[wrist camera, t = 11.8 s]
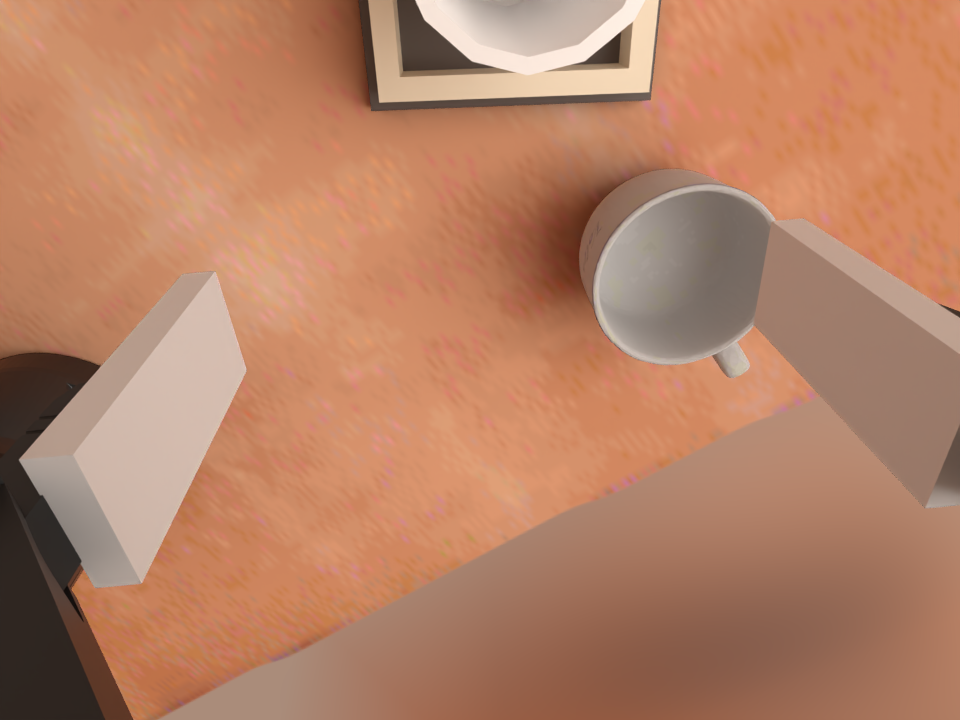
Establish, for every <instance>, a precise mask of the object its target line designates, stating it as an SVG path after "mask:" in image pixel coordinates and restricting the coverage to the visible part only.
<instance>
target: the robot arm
mask: <svg viewBox="0 0 960 720" xmlns="http://www.w3.org/2000/svg"><path fill="white" fill-rule="evenodd" d="M753 324H754V325H755V326H756V328H757V329H758V330H759V331H760V332H761V333H762V334H763V335H764V336H765V337H766V338H767V339H768V340H769V342H770V343H771V344H772V345H773V346H774V347H775V348H776V349H777V350H778V351H779V352H780V353H781V354H782V355H783V357H784V358H785V359H786V360H787V361H788V362H789V363H790V364H791V365H792V366H793V367H794V368H795V369H796V370H797V372H798V373H799V374H800V375H801V376H802V377H803V378H804V379H805V380H806V381H807V382H808V383H809V384H810V386H811V387H812V388H813V389H814V390H815V391H816V392H817V393H818V394H819V395H820V396H821V397H822V398H823V399H824V401H825V402H826V403H827V404H828V405H829V406H830V407H831V408H832V409H833V410H834V411H835V412H836V413H837V414H838V415H839V416H840V418H841V419H842V420H843V421H844V422H845V423H846V424H847V425H848V426H849V427H850V428H851V429H852V430H853V432H854V433H855V434H856V435H857V436H858V437H859V438H860V439H861V440H862V441H863V442H864V443H865V445H866V446H867V447H868V448H869V449H870V450H871V451H872V452H873V453H874V454H875V455H876V456H877V457H878V458H879V460H880V461H881V462H882V463H883V464H884V465H885V466H886V467H887V468H888V469H889V470H890V471H891V472H892V474H893V475H894V476H895V477H896V478H897V479H898V480H899V481H900V482H901V483H902V484H903V485H904V486H905V487H906V489H908V491H909V492H910V493H911V494H912V495H913V496H914V497H915V498H916V499H917V500H918V501H919V502H920V503H921V504H922V506H923V507H924V508H935V507H945V506H955V505H960V312H959V311H957V310H954V309H951V308H948V307H946V306H943V305H940V304H938V303H936V302H934V301H933V300H931V299H929V298H928V297H926V296H925V295H923V294H922V293H920V292H918V291H917V290H915V289H914V288H912V287H911V286H909V285H907V284H906V283H904V282H903V281H901V280H900V279H898V278H896V277H895V276H893V275H892V274H890V273H889V272H887V271H885V270H884V269H882V268H881V267H879V266H878V265H876V264H874V263H873V262H871V261H870V260H868V259H867V258H865V257H863V256H862V255H860V254H859V253H857V252H856V251H854V250H853V249H851V248H849V247H848V246H846V245H845V244H843V243H842V242H840V241H838V240H837V239H835V238H834V237H832V236H831V235H829V234H827V233H826V232H824V231H823V230H821V229H820V228H818V227H816V226H815V225H813V224H812V223H810V222H809V221H807V220H805V219H804V218H803V219H791V220H780V221H772V222H771V228H770V233H769V239H768V244H767V250H766V256H765V261H764V267H763V273H762V278H761V284H760V289H759V295H758V301H757V306H756V312H755V317H754V323H753ZM246 371H247V370H246V366H245V363H244V360H243V357H242V354H241V351H240V347H239V344H238V341H237V338H236V335H235V332H234V328H233V325H232V322H231V319H230V316H229V313H228V309H227V306H226V303H225V300H224V297H223V294H222V290H221V287H220V284H219V281H218V278H217V275H216V271H210V272H199V273H187V274H182V275H181V276H180V277H179V278H178V280H177V281H176V282H175V283H174V284H173V285H172V286H171V288H170V289H169V290H168V291H167V292H166V293H165V294H164V295H163V297H162V298H161V299H160V300H159V301H158V302H157V303H156V305H155V306H154V307H153V308H152V309H151V310H150V311H149V313H148V314H147V315H146V316H145V317H144V318H143V319H142V320H141V322H140V323H139V324H138V325H137V326H136V327H135V328H134V330H133V331H132V332H131V333H130V334H129V335H128V336H127V337H126V339H125V340H124V341H123V342H122V343H121V344H120V345H119V347H118V348H117V349H116V350H115V351H114V352H113V353H112V355H111V356H110V357H109V358H108V359H107V360H106V361H105V362H104V364H103V365H102V366H101V367H100V366H98V365H95V364H93V363H90V362H87V361H84V360H80V359H77V358H73V357H68V356H63V355H56V354H45V353H32V354H22V355H16V356H11V357H8V358H5V359H2V360H0V720H133V718H132V716H131V714H130V712H129V710H128V707H127V705H126V703H125V701H124V699H123V697H122V694H121V692H120V690H119V688H118V686H117V684H116V682H115V679H114V677H113V675H112V673H111V671H110V669H109V667H108V664H107V662H106V660H105V658H104V656H103V654H102V652H101V649H100V647H99V645H98V643H97V641H96V639H95V637H94V634H93V632H92V630H91V628H90V626H89V624H88V622H87V619H86V617H85V615H84V613H83V611H82V609H81V607H80V604H79V602H78V600H77V598H76V596H75V595H74V593H73V592H72V590H71V589H72V587H73V586H74V584H75V582H76V581H77V579H78V578H79V576H80V574H81V573H82V571H83V570H85V572H86V574H87V575H88V577H89V579H90V580H91V582H92V584H93V586H94V587H95V588H102V587H112V586H123V585H133V584H142V582H143V580H144V578H145V576H146V574H147V572H148V570H149V568H150V566H151V564H152V562H153V560H154V558H155V556H156V553H157V551H158V549H159V547H160V545H161V543H162V541H163V539H164V537H165V535H166V533H167V531H168V529H169V527H170V525H171V523H172V521H173V519H174V517H175V515H176V513H177V511H178V509H179V507H180V505H181V503H182V501H183V499H184V497H185V495H186V493H187V491H188V489H189V487H190V485H191V483H192V481H193V479H194V476H195V474H196V472H197V470H198V468H199V466H200V464H201V462H202V460H203V458H204V456H205V454H206V452H207V450H208V448H209V446H210V444H211V442H212V440H213V438H214V436H215V434H216V432H217V430H218V428H219V426H220V424H221V422H222V420H223V418H224V416H225V414H226V412H227V410H228V408H229V406H230V404H231V402H232V400H233V397H234V395H235V393H236V391H237V389H238V387H239V385H240V383H241V381H242V379H243V377H244V375H245V373H246Z"/></svg>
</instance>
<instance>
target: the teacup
mask: <svg viewBox="0 0 960 720" xmlns="http://www.w3.org/2000/svg"><path fill="white" fill-rule="evenodd" d="M772 221H776V220H775V218H774V217H773V215H772V214H771V213H770V212H769V210H768V209H767V208H766V207H765V206H764V205H763V204H762V203H761V202H760V201H759V200H757V199H756V198H755V197H753V196H752V195H750V194H748V193H746V192H744V191H742V190H740V189H737V188H734V187H730V186H728V185H726V184H724V183H722V182H720V181H718V180H716V179H714V178H711V177H709V176H707V175H704V174H701V173H698V172H694V171H691V170H684V169H660V170H655V171H650V172H647V173H643V174H640V175H638V176H636V177H634V178H631V179H629V180H628V181H626V182H624V183H623V184H621V185H619V186H618V187H617V188H615V189H614V190H613V191H611V192H610V193H609V194H608V195H607V196H606V197H605V198H604V199H603V200H602V202H601V203H600V204H599V205H598V206H597V208H596V209H595V210H594V212H593V213H592V215H591V217H590V219H589V221H588V223H587V225H586V227H585V230H584V233H583V236H582V239H581V244H580V251H579V267H580V274H581V279H582V282H583V286H584V289H585V291H586V294H587V296H588V299H589V301H590V303H591V305H592V307H593V309H594V312H595V315H596V319H597V320H598V323H599V325H600V327H601V329H602V330H603V332H604V334H605V335H606V336H607V337H608V338H609V340H610V341H611V342H612V343H614V344H615V345H616V346H617V347H618V348H619V349H620V350H621V351H623V352H625V353H626V354H627V355H629V356H631V357H633V358H635V359H638V360H640V361H644V362H648V363H652V364H659V365H679V364H685V363H690V362H694V361H697V360H700V359H704V358H706V357H709V356H713V358H714V360H715V361H716V362H717V364H718V365H719V367H720V368H721V370H722V371H723V373H724V374H725V375H726V376H727V377H729V378H735V377H738V376H740V375H741V374H743V373H745V372H746V371H747V370H748V368H749V366H750V364H749V361H748V359H747V357H746V356H745V354H744V352H743V351H742V349H741V347H740V346H739V344H738V343H737V341H738V340H740V339H741V338H742V337H743V336H744V335H746V334H747V333H748V332H749V331H750V330H751V329H752V327H753V326H754V324H753V323H754V317H755V312H756V306H757V301H758V295H759V289H760V284H761V278H762V273H763V267H764V261H765V256H766V250H767V244H768V239H769V233H770V228H771V222H772Z"/></svg>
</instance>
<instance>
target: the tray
mask: <svg viewBox="0 0 960 720" xmlns="http://www.w3.org/2000/svg"><path fill="white" fill-rule="evenodd" d="M660 5H661V0H645V2H644V3H643V5H642V7H641V9H640V11H639V13H638V15H637V17H636V18H635V20H634V21H633V22H632V23H630V24H629V25H628V26H627V27H626V28H624V29H623V30H622V31H621V32H620V33H618V34H617V35H616V36H615V37H614V38H612V39H611V40H610V41H609V42H607V43H606V44H605V45H604V46H603V47H601V48H600V49H599V50H598V51H597V52H595V53H594V54H593V55H592V56H591V57H589V58H588V59H587V60H586V61H584V62H580V63H576V64H572V65H568V66H564V67H560V68H556V69H552V70H548V71H544V72H540V73H536V74H531V75H524V74H520V73H516V72H512V71H508V70H504V69H500V68H496V67H492V66H488V65H484V64H480V63H476V62H472V61H471V60H470V59H468V58H467V57H466V56H465V55H464V54H463V53H462V52H460V51H459V50H458V49H457V48H456V47H455V46H454V45H452V44H451V43H450V42H449V41H448V40H447V39H446V38H444V37H443V36H442V35H441V34H440V33H439V32H438V31H437V30H435V29H434V28H433V27H432V26H431V25H430V24H429V23H427V22H426V21H425V20H424V18H423V16H422V14H421V11H420V9H419V7H418V5H417V3H416V1H415V0H359V8H360V17H361V26H362V34H363V43H364V52H365V60H366V69H367V78H368V86H369V95H370V104H371V111H384V110H409V109H435V108H461V107H487V106H513V105H539V104H565V103H591V102H617V101H642V100H651V91H652V81H653V72H654V62H655V53H656V43H657V34H658V24H659V15H660Z"/></svg>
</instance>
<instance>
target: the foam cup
mask: <svg viewBox="0 0 960 720" xmlns="http://www.w3.org/2000/svg"><path fill="white" fill-rule="evenodd" d="M415 1H416V3H417V5H418V7H419V9H420V11H421V14H422V16H423V18H424V20H425V21H426V22H427V23H429V24H430V25H431V26H432V27H433V28H434V29H435V30H437V31H438V32H439V33H440V34H441V35H442V36H443V37H444V38H446V39H447V40H448V41H449V42H450V43H451V44H452V45H454V46H455V47H456V48H457V49H458V50H459V51H460V52H462V53H463V54H464V55H465V56H466V57H467V58H468V59H470V60H471V61H472V62H476V63H480V64H484V65H488V66H492V67H496V68H500V69H504V70H508V71H512V72H516V73H520V74H524V75H531V74H536V73H540V72H544V71H548V70H552V69H556V68H560V67H564V66H568V65H572V64H576V63H580V62H584V61H586V60H587V59H588V58H589V57H591V56H592V55H593V54H594V53H595V52H597V51H598V50H599V49H600V48H601V47H603V46H604V45H605V44H606V43H607V42H609V41H610V40H611V39H612V38H614V37H615V36H616V35H617V34H618V33H620V32H621V31H622V30H623V29H624V28H626V27H627V26H628V25H629V24H630V23H632V22H633V21H634V20H635V18H636V17H637V15H638V13H639V11H640V9H641V7H642V5H643V3H644V2H645V0H415Z"/></svg>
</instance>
